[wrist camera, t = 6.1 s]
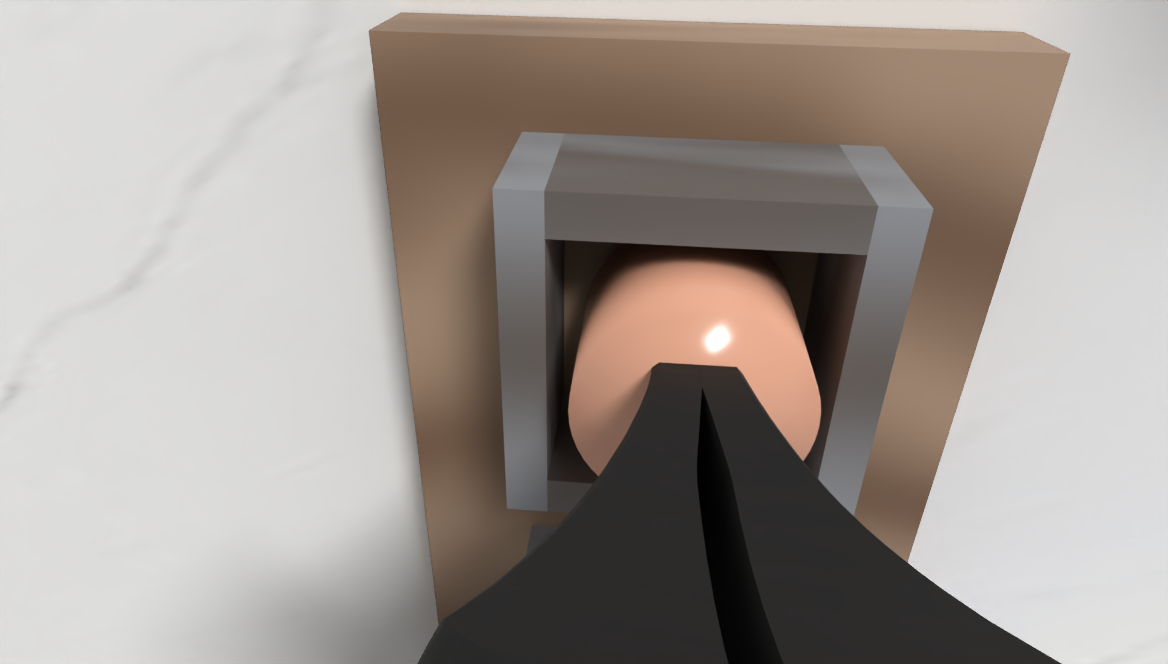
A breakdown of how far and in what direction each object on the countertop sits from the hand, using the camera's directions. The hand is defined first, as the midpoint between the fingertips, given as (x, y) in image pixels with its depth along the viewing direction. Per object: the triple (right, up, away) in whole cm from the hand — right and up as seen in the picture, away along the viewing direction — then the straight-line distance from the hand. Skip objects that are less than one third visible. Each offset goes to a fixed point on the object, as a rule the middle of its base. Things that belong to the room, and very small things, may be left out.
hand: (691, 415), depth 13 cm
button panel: (0, -1, +8) cm, 8 cm away
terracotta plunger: (0, +2, +3) cm, 3 cm away
